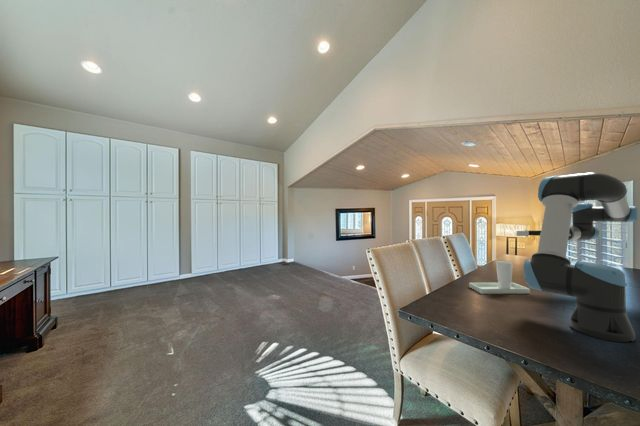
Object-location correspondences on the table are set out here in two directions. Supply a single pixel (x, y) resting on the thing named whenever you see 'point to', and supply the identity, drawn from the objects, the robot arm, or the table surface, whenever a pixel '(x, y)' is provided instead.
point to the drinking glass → (504, 274)
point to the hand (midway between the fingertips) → (528, 234)
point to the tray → (493, 288)
